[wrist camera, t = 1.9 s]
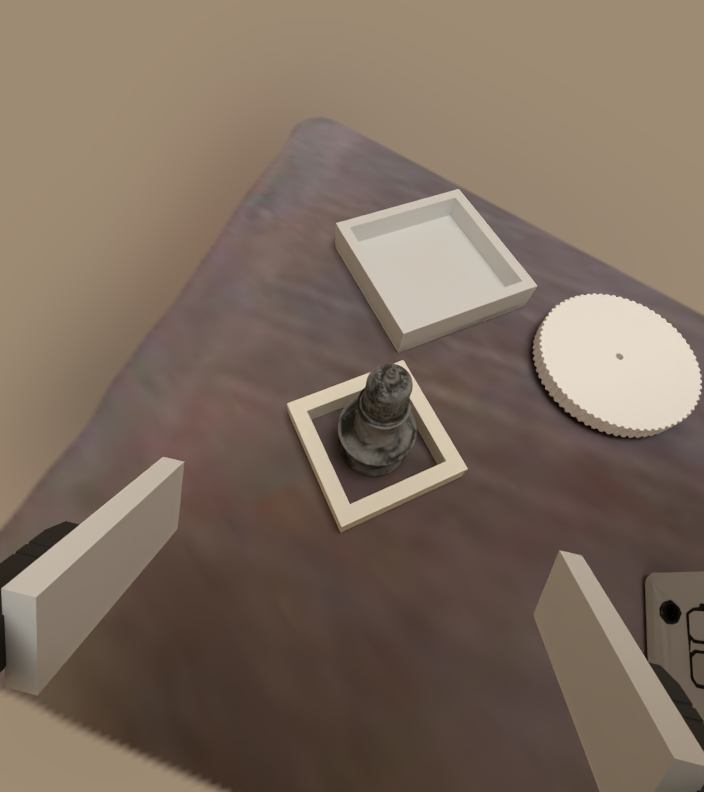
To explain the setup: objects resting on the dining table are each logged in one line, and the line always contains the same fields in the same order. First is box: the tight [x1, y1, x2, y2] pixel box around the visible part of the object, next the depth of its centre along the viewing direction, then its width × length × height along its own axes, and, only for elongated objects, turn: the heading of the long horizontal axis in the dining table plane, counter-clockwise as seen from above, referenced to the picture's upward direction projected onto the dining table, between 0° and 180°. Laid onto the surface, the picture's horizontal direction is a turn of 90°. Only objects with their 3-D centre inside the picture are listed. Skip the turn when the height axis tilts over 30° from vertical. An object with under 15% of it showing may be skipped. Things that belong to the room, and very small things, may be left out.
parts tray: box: [335, 189, 537, 353], centre depth 44 cm, size 14×14×3 cm
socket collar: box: [287, 360, 468, 533], centre depth 35 cm, size 10×10×2 cm
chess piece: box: [338, 363, 417, 477], centre depth 31 cm, size 6×6×12 cm
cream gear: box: [533, 294, 702, 438], centre depth 40 cm, size 14×14×2 cm
